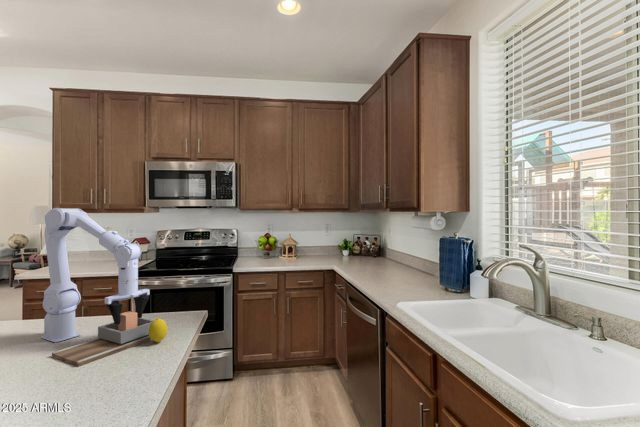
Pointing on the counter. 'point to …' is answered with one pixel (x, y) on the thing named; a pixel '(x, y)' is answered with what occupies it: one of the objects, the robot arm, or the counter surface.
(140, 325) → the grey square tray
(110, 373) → the counter surface
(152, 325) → the lemon
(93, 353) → the track
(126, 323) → the block
